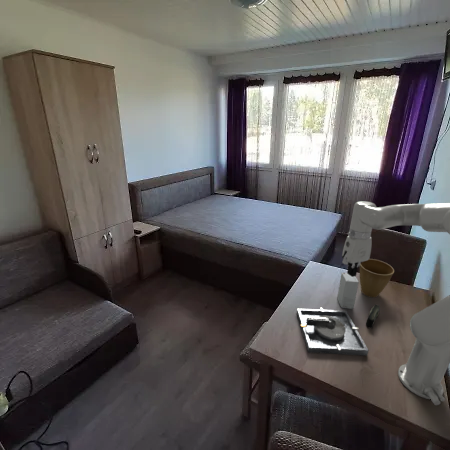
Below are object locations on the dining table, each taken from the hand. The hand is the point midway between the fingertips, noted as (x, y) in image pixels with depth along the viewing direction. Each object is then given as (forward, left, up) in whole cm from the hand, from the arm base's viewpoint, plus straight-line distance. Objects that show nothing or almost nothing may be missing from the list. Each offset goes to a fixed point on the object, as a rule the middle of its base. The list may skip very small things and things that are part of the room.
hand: (351, 274), depth 108 cm
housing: (-8, +8, -24) cm, 26 cm away
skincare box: (+12, -6, -24) cm, 27 cm away
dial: (-8, +10, -22) cm, 25 cm away
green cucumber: (+2, -15, -24) cm, 28 cm away
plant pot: (+21, -22, -24) cm, 39 cm away
